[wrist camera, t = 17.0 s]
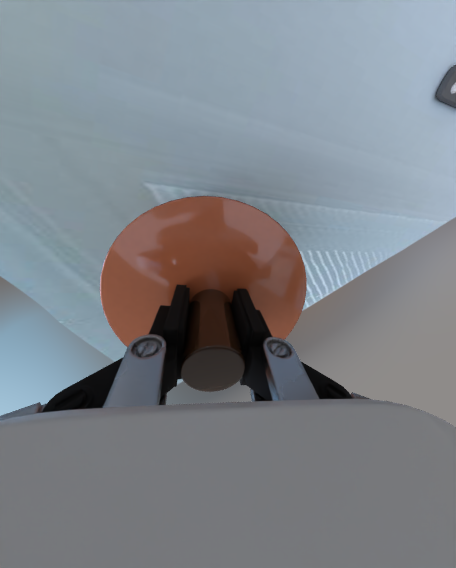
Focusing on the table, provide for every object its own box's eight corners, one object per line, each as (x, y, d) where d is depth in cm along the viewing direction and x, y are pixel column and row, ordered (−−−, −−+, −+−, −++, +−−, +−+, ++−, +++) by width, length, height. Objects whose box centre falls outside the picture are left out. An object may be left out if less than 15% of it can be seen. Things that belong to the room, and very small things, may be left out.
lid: (176, 135, 8) (132, 41, 3) (333, 276, 13) (422, 331, 8) (77, 320, 12) (-19, 416, 7) (226, 380, 16) (237, 466, 11)
